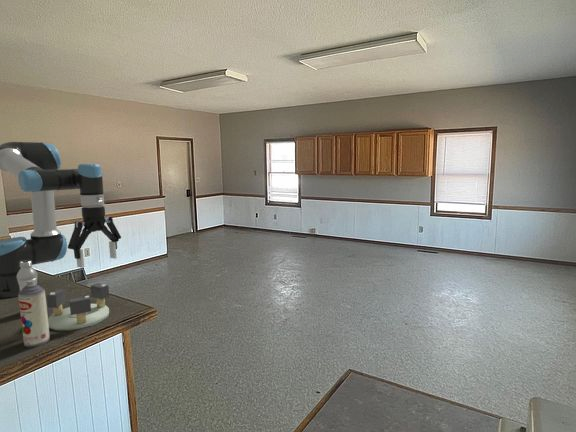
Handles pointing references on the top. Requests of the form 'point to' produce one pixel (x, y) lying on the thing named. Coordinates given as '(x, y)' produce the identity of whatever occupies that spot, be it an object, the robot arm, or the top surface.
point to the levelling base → (70, 321)
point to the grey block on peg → (100, 293)
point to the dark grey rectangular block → (57, 301)
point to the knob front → (80, 308)
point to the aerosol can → (34, 315)
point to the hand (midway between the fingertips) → (97, 262)
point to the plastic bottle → (26, 274)
